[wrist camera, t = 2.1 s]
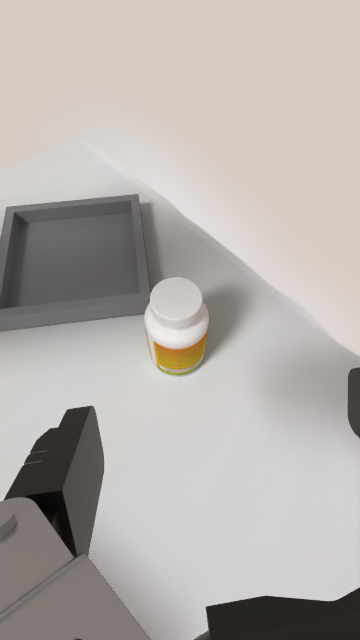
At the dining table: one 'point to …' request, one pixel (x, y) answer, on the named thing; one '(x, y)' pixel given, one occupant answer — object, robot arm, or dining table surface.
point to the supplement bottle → (176, 326)
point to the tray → (72, 262)
